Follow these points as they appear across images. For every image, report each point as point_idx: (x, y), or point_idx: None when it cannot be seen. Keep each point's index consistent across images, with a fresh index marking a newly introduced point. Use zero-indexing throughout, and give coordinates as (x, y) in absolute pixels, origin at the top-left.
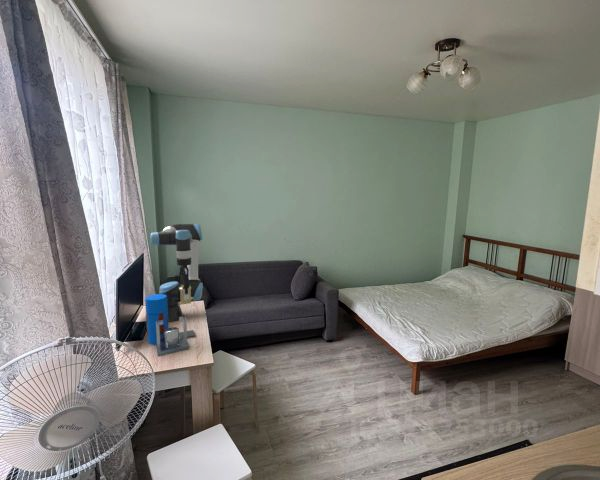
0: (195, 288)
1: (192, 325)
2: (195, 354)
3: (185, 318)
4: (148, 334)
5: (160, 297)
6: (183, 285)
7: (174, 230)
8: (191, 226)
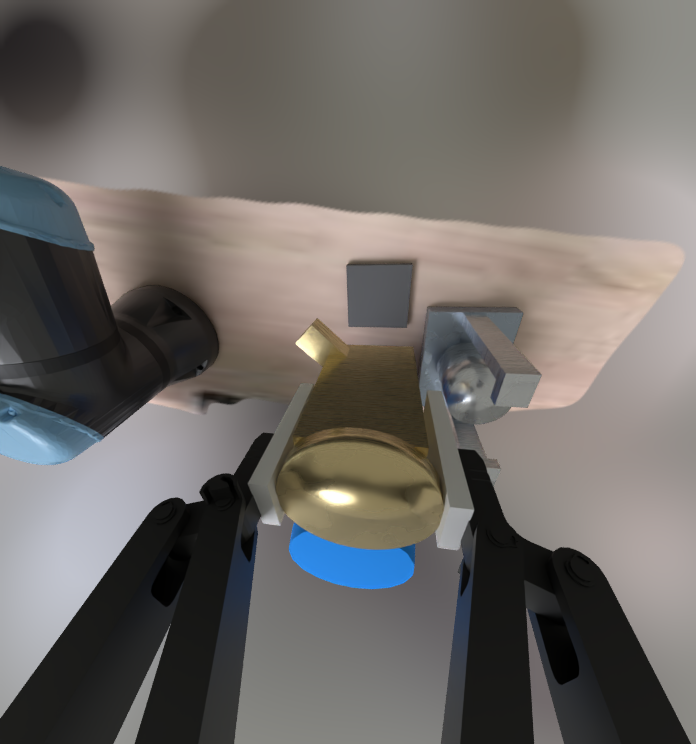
0: None
1: (277, 257)
2: (584, 291)
3: (538, 377)
4: None
5: (372, 553)
6: (277, 511)
7: None
8: None
